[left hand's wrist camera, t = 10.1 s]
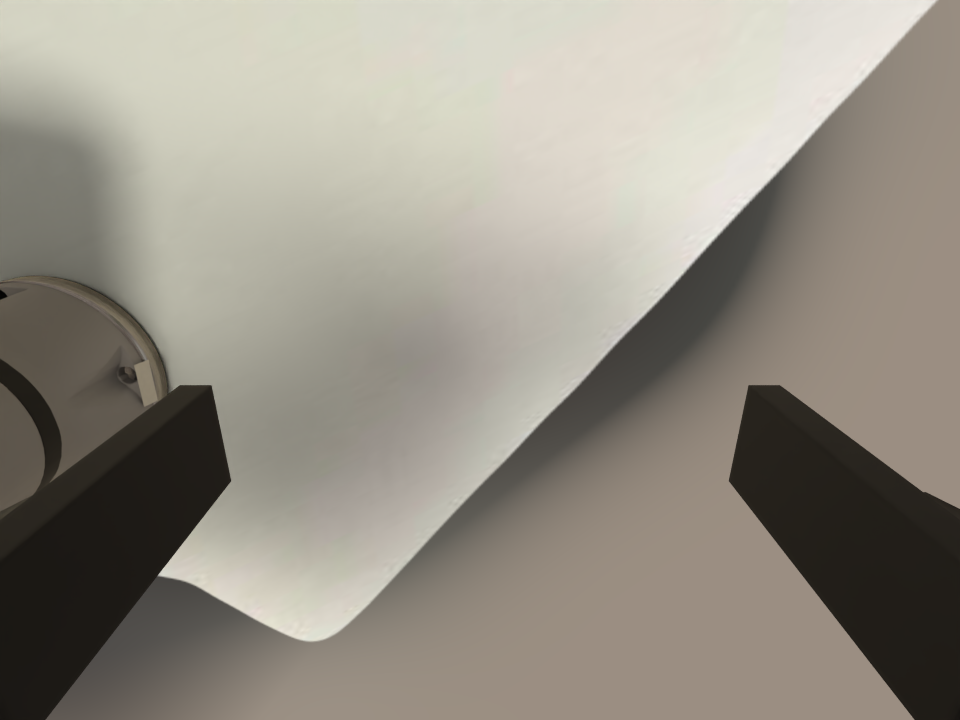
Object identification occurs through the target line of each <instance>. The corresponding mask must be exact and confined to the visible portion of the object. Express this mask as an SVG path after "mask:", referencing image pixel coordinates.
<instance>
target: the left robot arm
mask: <svg viewBox="0 0 960 720" xmlns="http://www.w3.org/2000/svg"><path fill="white" fill-rule="evenodd" d="M230 482H231V478H230V473H229V468H228V463H227V458H226V454H225V449H224V444H223V439H222V434H221V429H220V425H219V420H218V415H217V410H216V405H215V400H214V396H213V391H212V386H211V385H180V386H179V387H177V388H176V389H174V390H173V391H172V392H170V393H169V394H168V395H167V381H166V376H165V371H164V368H163V365H162V362H161V359H160V357H159V355H158V352H157V351H156V349H155V347H154V345H153V343H152V342H151V340H150V339H149V337H148V336H147V334H146V333H145V332H144V331H143V329H142V328H141V327H140V326H139V324H138V323H137V322H136V321H135V320H134V319H133V318H132V317H131V316H130V315H129V314H128V313H127V312H125V311H124V310H123V309H122V308H121V307H119V306H118V305H117V304H116V303H114V302H113V301H111V300H110V299H108V298H107V297H105V296H103V295H102V294H100V293H98V292H96V291H94V290H92V289H90V288H88V287H86V286H83V285H80V284H78V283H75V282H72V281H68V280H65V279H60V278H55V277H47V276H25V277H19V278H13V279H9V280H5V281H1V282H0V720H45V719H46V718H47V717H48V716H49V714H50V713H51V712H52V710H53V709H54V708H55V707H56V705H57V704H58V703H59V702H60V700H61V699H62V698H63V696H64V695H65V694H66V693H67V691H68V690H69V689H70V687H71V686H72V685H73V684H74V682H75V681H76V680H77V678H78V677H79V676H80V675H81V673H82V672H83V671H84V669H85V668H86V667H87V666H88V664H89V663H90V662H91V660H92V659H93V658H94V657H95V655H96V654H97V653H98V651H99V650H100V649H101V647H102V646H103V645H104V644H105V642H106V641H107V640H108V638H109V637H110V636H111V635H112V633H113V632H114V631H115V630H116V628H117V627H118V626H119V624H120V623H121V622H122V621H123V619H124V618H125V617H126V615H127V614H128V613H129V612H130V610H131V609H132V608H133V606H134V605H135V604H136V602H137V601H138V600H139V599H140V597H141V596H142V595H143V594H144V592H145V591H146V590H147V588H148V587H149V586H150V585H151V583H152V582H153V581H154V579H155V578H156V577H157V576H158V574H159V573H160V572H161V570H162V569H163V568H164V567H165V565H166V564H167V563H168V561H169V560H170V559H171V558H172V556H173V555H174V554H175V552H176V551H177V550H178V549H179V547H180V546H181V545H182V543H183V542H184V541H185V540H186V538H187V537H188V536H189V534H190V533H191V532H192V531H193V529H194V528H195V527H196V526H197V524H198V523H199V522H200V520H201V519H202V518H203V517H204V515H205V514H206V513H207V511H208V510H209V509H210V508H211V506H212V505H213V504H214V502H215V501H216V500H217V499H218V497H219V496H220V495H221V493H222V492H223V491H224V490H225V488H226V487H227V486H228V484H229V483H230ZM729 482H730V483H731V484H732V486H733V487H734V488H735V490H736V491H737V492H738V493H739V495H740V496H741V497H742V499H743V500H744V501H745V502H746V504H747V505H748V506H749V507H750V509H751V510H752V511H753V513H754V514H755V515H756V517H757V518H758V519H759V520H760V522H761V523H762V524H763V526H764V527H765V528H766V529H767V531H768V532H769V533H770V534H771V536H772V537H773V538H774V540H775V541H776V542H777V543H778V545H779V546H780V547H781V549H782V550H783V551H784V552H785V554H786V555H787V556H788V558H789V559H790V560H791V561H792V563H793V564H794V565H795V567H796V568H797V569H798V570H799V572H800V573H801V574H802V576H803V577H804V578H805V579H806V581H807V582H808V583H809V585H810V586H811V587H812V588H813V590H814V591H815V592H816V594H817V595H818V596H819V597H820V599H821V600H822V601H823V603H824V604H825V605H826V606H827V608H828V609H829V610H830V612H831V613H832V614H833V615H834V617H835V618H836V619H837V621H838V622H839V623H840V624H841V626H842V627H843V628H844V630H845V631H846V632H847V633H848V635H849V636H850V637H851V639H852V640H853V641H854V642H855V644H856V645H857V646H858V648H859V649H860V650H861V651H862V653H863V654H864V655H865V657H866V658H867V659H868V660H869V662H870V663H871V664H872V666H873V667H874V668H875V669H876V671H877V672H878V673H879V674H880V676H881V677H882V678H883V680H884V681H885V682H886V684H887V685H888V686H889V687H890V689H891V690H892V691H893V693H894V694H895V695H896V696H897V698H898V699H899V700H900V702H901V703H902V704H903V705H904V707H905V708H906V709H907V710H908V712H909V713H910V714H911V716H912V717H913V718H914V720H960V509H959V508H957V507H955V506H952V505H950V504H948V503H946V502H944V501H942V500H940V499H938V498H936V497H934V496H932V495H930V494H928V493H926V492H922V491H921V490H919V489H918V488H917V487H915V486H914V485H913V484H911V483H910V482H909V481H907V480H906V479H905V478H903V477H902V476H901V475H899V474H898V473H897V472H895V471H894V470H893V469H891V468H890V467H889V466H887V465H886V464H885V463H883V462H882V461H880V460H879V459H878V458H876V457H875V456H874V455H873V454H871V453H870V452H868V451H867V450H866V449H864V448H863V447H862V446H860V445H859V444H858V443H856V442H855V441H854V440H852V439H851V438H850V437H848V436H847V435H846V434H844V433H843V432H842V431H840V430H839V429H838V428H836V427H835V426H834V425H832V424H831V423H830V422H828V421H827V420H826V419H824V418H823V417H822V416H820V415H819V414H818V413H816V412H815V411H814V410H812V409H811V408H810V407H808V406H807V405H806V404H804V403H803V402H802V401H800V400H799V399H798V398H796V397H795V396H794V395H792V394H791V393H790V392H788V391H787V390H786V389H784V388H783V387H781V386H780V385H749V386H748V391H747V396H746V401H745V405H744V410H743V415H742V420H741V425H740V430H739V434H738V439H737V444H736V449H735V454H734V458H733V463H732V468H731V473H730V478H729Z"/></svg>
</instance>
